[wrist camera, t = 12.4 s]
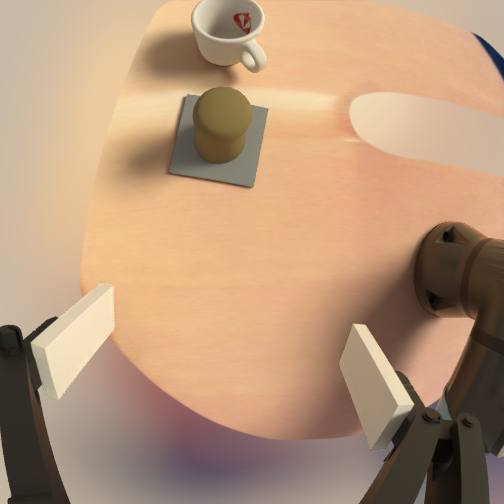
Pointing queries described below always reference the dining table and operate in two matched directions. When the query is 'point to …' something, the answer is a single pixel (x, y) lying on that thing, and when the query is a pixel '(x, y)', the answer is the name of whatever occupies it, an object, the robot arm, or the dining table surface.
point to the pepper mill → (221, 124)
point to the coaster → (231, 172)
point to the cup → (229, 32)
